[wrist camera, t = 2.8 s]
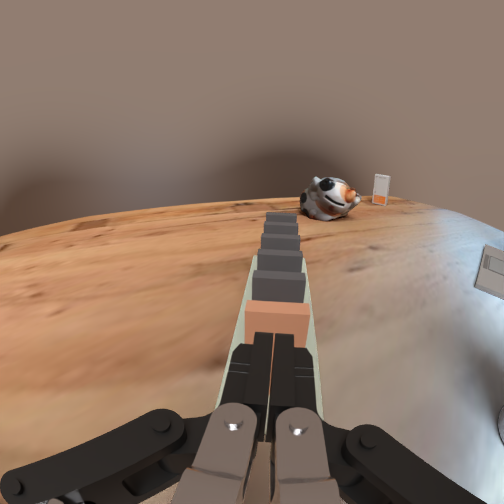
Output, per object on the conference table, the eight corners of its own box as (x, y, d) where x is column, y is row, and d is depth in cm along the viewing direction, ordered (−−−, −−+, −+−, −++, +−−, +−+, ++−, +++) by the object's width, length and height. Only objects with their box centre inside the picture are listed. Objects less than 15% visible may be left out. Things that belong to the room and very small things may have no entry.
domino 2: (293, 286, 45) (298, 226, 41) (262, 284, 46) (263, 224, 42) (293, 281, 47) (297, 223, 43) (262, 280, 47) (264, 221, 43)
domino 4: (295, 329, 35) (302, 256, 31) (255, 326, 35) (257, 254, 32) (294, 321, 36) (302, 251, 33) (256, 319, 37) (258, 248, 33)
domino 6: (296, 396, 25) (310, 314, 21) (244, 393, 25) (244, 310, 22) (296, 384, 26) (309, 303, 23) (246, 381, 27) (247, 299, 23)
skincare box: (371, 203, 107) (374, 174, 103) (373, 201, 110) (376, 173, 106) (385, 206, 104) (389, 176, 99) (387, 204, 107) (390, 176, 102)
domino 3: (294, 305, 40) (300, 239, 36) (259, 303, 41) (261, 237, 37) (294, 299, 42) (299, 235, 38) (260, 297, 42) (261, 233, 38)
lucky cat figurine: (347, 212, 91) (366, 175, 80) (344, 238, 83) (366, 200, 71) (301, 193, 93) (315, 154, 81) (292, 218, 84) (308, 176, 72)
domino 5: (295, 358, 30) (306, 280, 26) (250, 356, 30) (252, 277, 27) (295, 349, 31) (305, 272, 28) (252, 347, 32) (253, 269, 28)
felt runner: (323, 435, 21) (324, 433, 21) (210, 428, 22) (210, 426, 22) (304, 260, 56) (304, 258, 55) (253, 257, 56) (253, 255, 56)
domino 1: (292, 271, 50) (296, 216, 46) (264, 269, 51) (266, 214, 47) (292, 267, 52) (296, 213, 48) (264, 265, 52) (266, 212, 48)
